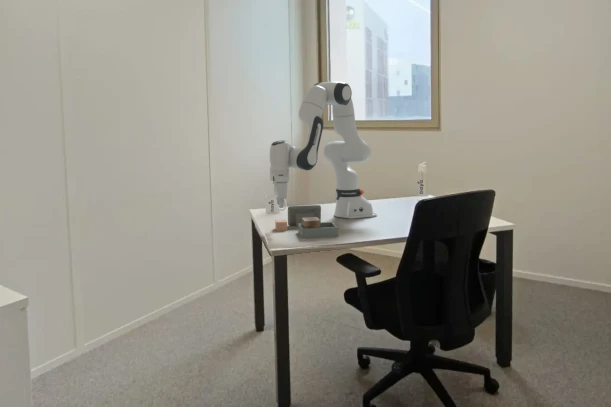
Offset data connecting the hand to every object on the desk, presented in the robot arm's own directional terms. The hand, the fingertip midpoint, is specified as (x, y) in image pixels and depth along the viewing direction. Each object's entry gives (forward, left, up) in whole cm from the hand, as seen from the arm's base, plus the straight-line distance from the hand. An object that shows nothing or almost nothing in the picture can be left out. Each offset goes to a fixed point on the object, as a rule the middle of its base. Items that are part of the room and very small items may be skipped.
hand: (280, 206), depth 263 cm
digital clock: (-12, -9, -12) cm, 19 cm away
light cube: (0, 0, -12) cm, 12 cm away
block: (-12, +14, -11) cm, 21 cm away
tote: (-15, +14, -12) cm, 24 cm away
